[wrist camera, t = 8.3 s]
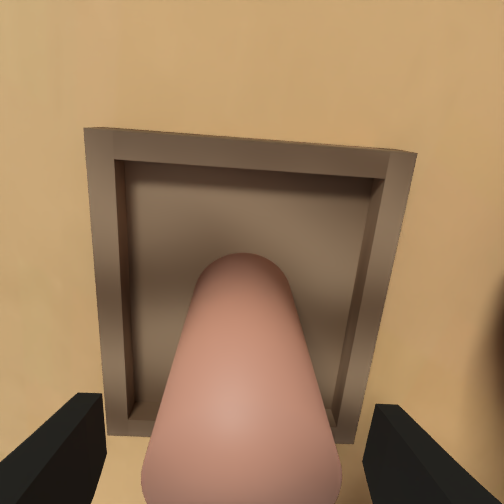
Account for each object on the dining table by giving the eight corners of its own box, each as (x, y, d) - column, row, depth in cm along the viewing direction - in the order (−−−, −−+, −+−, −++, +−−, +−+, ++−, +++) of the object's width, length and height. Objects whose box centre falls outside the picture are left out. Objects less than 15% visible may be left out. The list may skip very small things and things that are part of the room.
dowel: (286, 341, 17) (329, 552, 9) (193, 338, 17) (145, 550, 9) (295, 254, 16) (355, 405, 7) (193, 250, 16) (135, 400, 7)
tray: (344, 416, 20) (353, 444, 18) (119, 407, 19) (107, 435, 17) (397, 149, 15) (417, 153, 13) (102, 126, 14) (83, 128, 13)
